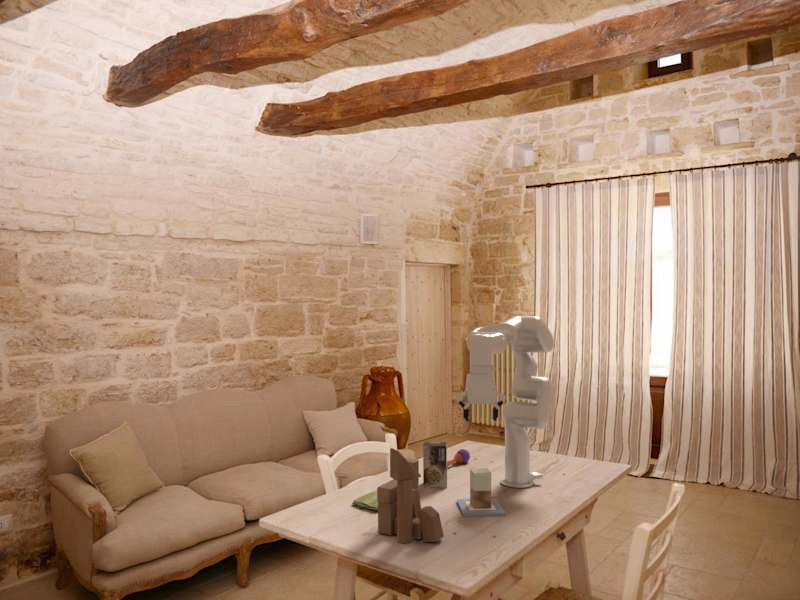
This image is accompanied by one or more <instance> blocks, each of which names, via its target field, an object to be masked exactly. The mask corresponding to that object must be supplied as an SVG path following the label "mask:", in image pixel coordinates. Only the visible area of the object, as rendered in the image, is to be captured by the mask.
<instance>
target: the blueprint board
mask: <svg viewBox="0 0 800 600" xmlns="http://www.w3.org/2000/svg"><path fill="white" fill-rule="evenodd" d="M456 503H457V505H458V508H459V509H460V511H461V514H462V515H463V517H483V516H484V517H486V516H506V510H505V509H504V508H503V507H502V505H501V504H500V502H499V501H498V499H497V498H496V497H495V498H493V497H492V498H491V508H481V509H474V508H473V507H472V505H471V503H470V498H460V499H459V498H458V499H456Z"/></svg>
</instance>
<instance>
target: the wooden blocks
mask: <svg viewBox="0 0 800 600" xmlns="http://www.w3.org/2000/svg"><path fill="white" fill-rule="evenodd" d="M389 450H390V451H389V455H390V456H389V470H390V471H389V477H390V478H392V479H391V480H389V481H387V482H385V483H383V484H381V485H379V486H377V487H376V490H377V502H378V511H377V513H378V514H377V532H378V533H379V534H383V535H388V536H392V535H393V534H394V535H396V540H397V542H399V543H400V544H401V543H402V544H408V543H411V542H412V541H413V539H418V540H422V539H423V542H424V543H437V542H438V541H440V540H441V539H443V538H444V537H445V534H444V529H443V525H442V520H441V516H440V513H439V512H438V511H437V510H436V509H435V508H434V507H433V506H431V505H427V506H424V507H422V505H421V487H419V485H420V484H419V480H420V479H419V478H421V477H422V474H420V472H419V467H420V466H419V462H420V461H419V459H415V458H409V457H404V455H403V454H402V453H401V452H400V451H399V450H397V449H395V448H392V447H390V449H389Z"/></svg>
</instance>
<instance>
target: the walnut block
mask: <svg viewBox="0 0 800 600" xmlns="http://www.w3.org/2000/svg"><path fill="white" fill-rule="evenodd" d="M469 486H470V485H469ZM469 490H470V491H469V493H470V494H469V496H470V498H469V499H470V503H471V505H472V507H473V508H474V509H481V508H491V499H492V490H491V491H473V489H472V488H471V486H470V487H469Z"/></svg>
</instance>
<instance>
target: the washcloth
mask: <svg viewBox="0 0 800 600" xmlns="http://www.w3.org/2000/svg"><path fill="white" fill-rule="evenodd" d="M351 504H352V505H354V506H356V505H357V506H356V507H360V506H361V508H363V509H369V510H373V509H374V510H373V511H376V512H378V502H377V489H376V490H372V491H370V492H368V493H367V494H364V495H362V496H361V495H360V496H358V497H357V498H356V499H354V500H353V501H352V502H351Z"/></svg>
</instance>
